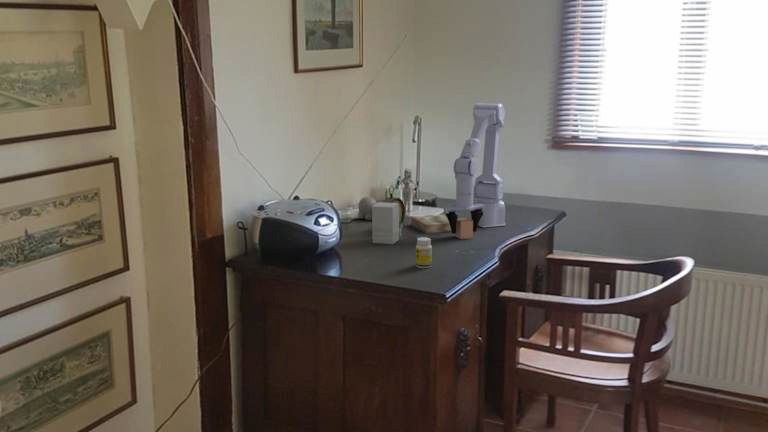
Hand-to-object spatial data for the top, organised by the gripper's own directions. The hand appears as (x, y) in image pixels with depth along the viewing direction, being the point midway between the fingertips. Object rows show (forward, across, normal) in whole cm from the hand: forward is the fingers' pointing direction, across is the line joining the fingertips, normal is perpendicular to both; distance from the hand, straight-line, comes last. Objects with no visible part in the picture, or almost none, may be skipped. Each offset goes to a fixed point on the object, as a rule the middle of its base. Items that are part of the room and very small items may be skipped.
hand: (463, 232), depth 261 cm
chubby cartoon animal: (+2, -20, +36) cm, 41 cm away
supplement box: (+2, -27, +4) cm, 27 cm away
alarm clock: (+2, -20, +17) cm, 26 cm away
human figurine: (+2, -5, +39) cm, 39 cm away
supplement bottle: (+2, -27, -28) cm, 39 cm away
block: (+2, 0, 0) cm, 2 cm away
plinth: (+2, -3, +16) cm, 16 cm away
